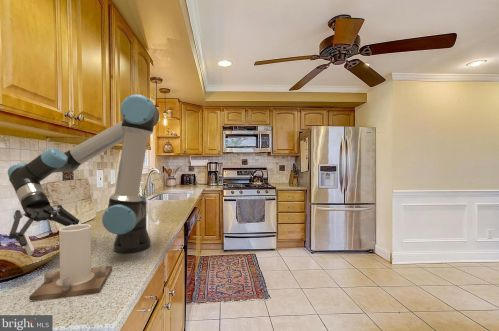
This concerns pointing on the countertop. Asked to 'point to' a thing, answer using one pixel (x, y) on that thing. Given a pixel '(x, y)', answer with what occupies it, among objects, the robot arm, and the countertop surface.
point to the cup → (75, 252)
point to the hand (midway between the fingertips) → (56, 246)
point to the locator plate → (66, 289)
